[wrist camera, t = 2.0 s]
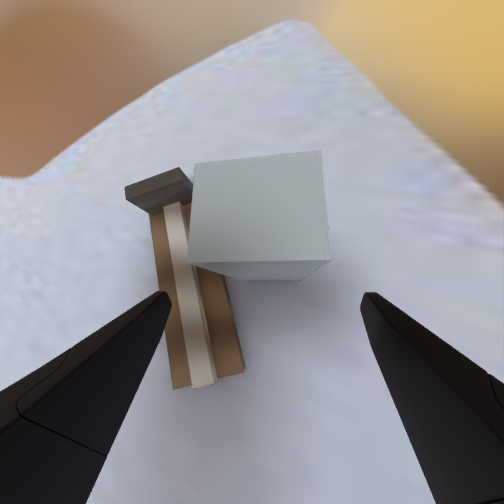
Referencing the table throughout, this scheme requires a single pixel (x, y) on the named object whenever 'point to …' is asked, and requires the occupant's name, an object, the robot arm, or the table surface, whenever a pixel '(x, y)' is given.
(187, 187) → the rail board
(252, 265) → the block
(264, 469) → the table surface
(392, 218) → the table surface
